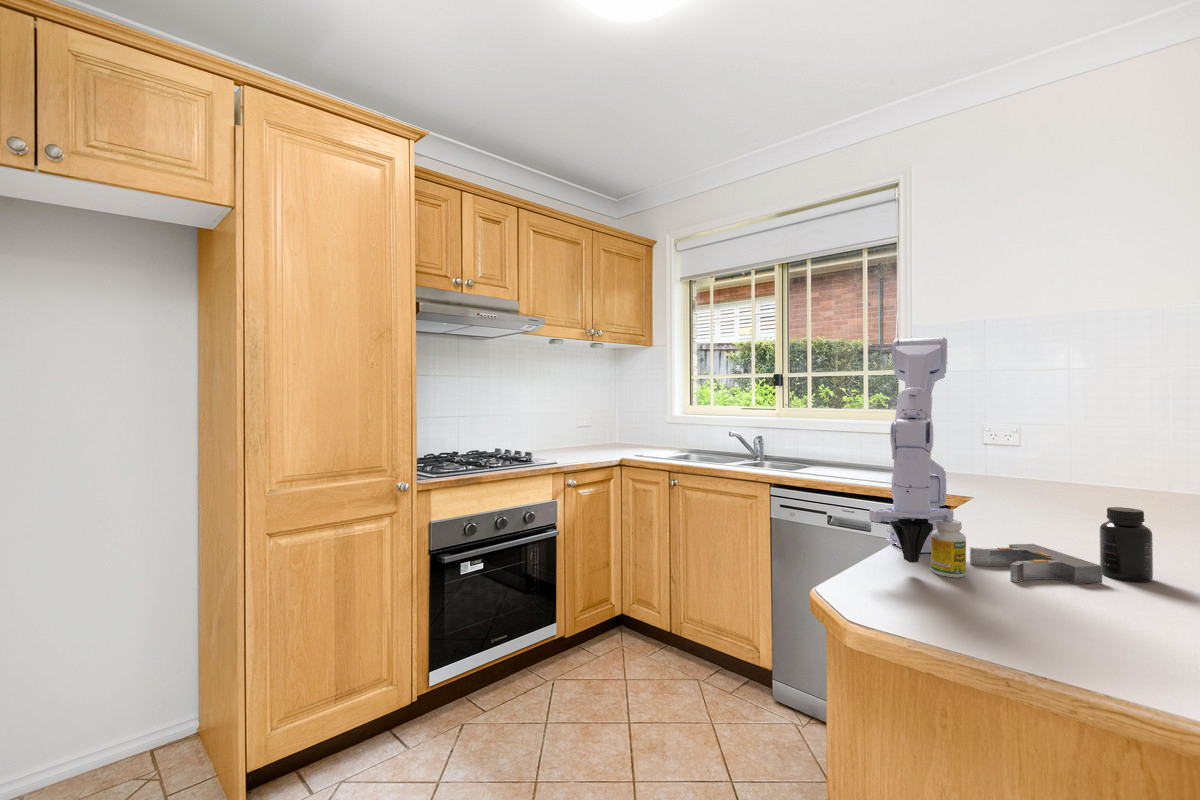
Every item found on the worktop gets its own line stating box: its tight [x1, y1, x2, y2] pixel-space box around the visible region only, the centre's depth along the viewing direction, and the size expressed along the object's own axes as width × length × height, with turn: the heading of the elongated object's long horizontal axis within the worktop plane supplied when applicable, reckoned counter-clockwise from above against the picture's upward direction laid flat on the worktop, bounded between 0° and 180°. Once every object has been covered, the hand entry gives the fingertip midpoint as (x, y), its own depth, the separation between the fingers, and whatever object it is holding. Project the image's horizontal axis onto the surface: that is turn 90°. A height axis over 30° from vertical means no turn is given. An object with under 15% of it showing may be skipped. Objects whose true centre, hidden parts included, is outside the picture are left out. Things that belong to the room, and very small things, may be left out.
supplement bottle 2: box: [1099, 506, 1154, 583], centre depth 99 cm, size 7×7×12 cm
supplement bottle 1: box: [930, 518, 967, 579], centre depth 101 cm, size 5×5×10 cm
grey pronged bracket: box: [969, 543, 1103, 585], centre depth 102 cm, size 14×15×3 cm
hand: (910, 560), depth 100 cm, fingers closed
